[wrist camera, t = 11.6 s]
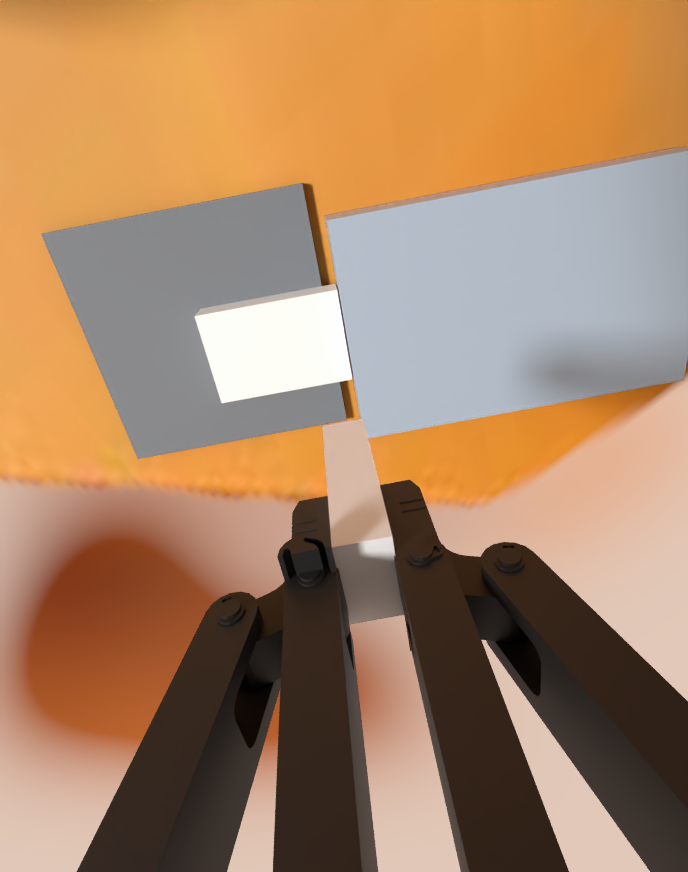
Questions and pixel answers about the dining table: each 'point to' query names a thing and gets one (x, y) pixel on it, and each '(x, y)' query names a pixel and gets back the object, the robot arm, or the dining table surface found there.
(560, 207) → the block
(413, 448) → the dining table surface
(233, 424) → the mat
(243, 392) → the white rectangular block
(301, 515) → the robot arm
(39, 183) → the dining table surface
